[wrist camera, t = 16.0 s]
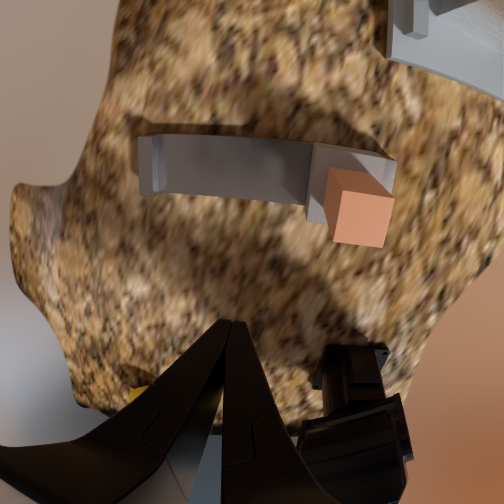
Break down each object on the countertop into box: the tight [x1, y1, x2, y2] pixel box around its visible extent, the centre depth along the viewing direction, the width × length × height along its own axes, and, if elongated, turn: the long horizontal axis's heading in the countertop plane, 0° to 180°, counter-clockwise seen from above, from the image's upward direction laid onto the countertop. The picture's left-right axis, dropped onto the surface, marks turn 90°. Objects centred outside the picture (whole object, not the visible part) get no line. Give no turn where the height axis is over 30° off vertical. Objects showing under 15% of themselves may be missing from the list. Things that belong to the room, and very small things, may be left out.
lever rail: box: [138, 132, 397, 205], centre depth 19 cm, size 4×16×2 cm, turn 86°
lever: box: [305, 142, 395, 248], centre depth 16 cm, size 4×4×6 cm
